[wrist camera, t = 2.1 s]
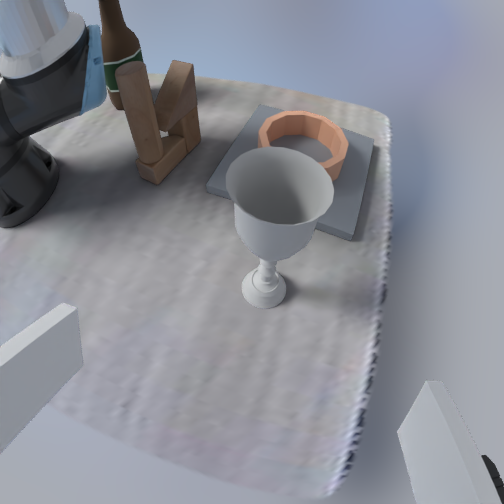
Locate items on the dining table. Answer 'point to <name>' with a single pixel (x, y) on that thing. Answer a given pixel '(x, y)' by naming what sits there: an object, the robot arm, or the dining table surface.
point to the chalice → (275, 212)
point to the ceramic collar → (308, 127)
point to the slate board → (351, 174)
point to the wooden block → (160, 116)
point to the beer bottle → (116, 46)
